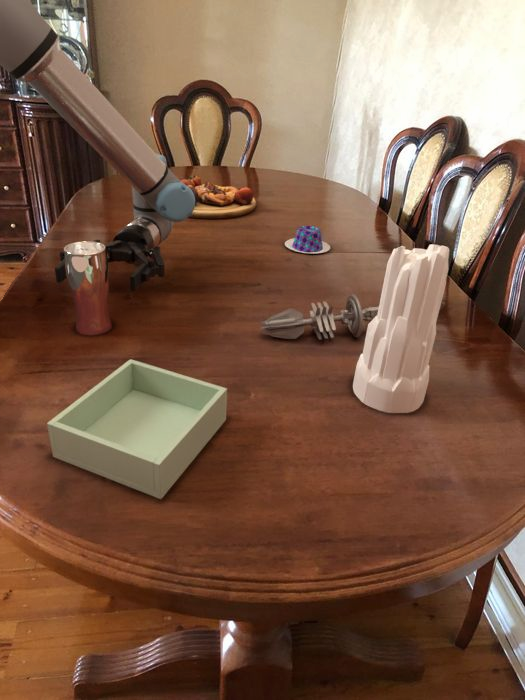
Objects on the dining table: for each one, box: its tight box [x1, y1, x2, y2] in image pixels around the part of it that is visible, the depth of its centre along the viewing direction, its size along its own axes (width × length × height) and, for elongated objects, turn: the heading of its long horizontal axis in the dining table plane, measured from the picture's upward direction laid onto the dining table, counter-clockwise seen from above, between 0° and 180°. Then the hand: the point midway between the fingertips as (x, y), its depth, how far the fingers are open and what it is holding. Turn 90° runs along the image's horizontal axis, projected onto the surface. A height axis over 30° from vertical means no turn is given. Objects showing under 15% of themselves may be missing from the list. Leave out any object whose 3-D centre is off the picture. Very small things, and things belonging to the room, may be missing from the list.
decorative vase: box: [352, 243, 450, 414], centre depth 75 cm, size 11×11×25 cm
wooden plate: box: [180, 174, 257, 220], centre depth 165 cm, size 32×32×8 cm
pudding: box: [284, 225, 331, 255], centre depth 136 cm, size 12×12×5 cm
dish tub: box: [46, 358, 228, 500], centre depth 68 cm, size 16×17×6 cm
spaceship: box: [260, 293, 447, 340], centre depth 96 cm, size 8×35×8 cm
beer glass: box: [63, 240, 112, 336], centre depth 90 cm, size 7×7×15 cm
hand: (94, 279), depth 92 cm, fingers open, 13 cm apart
